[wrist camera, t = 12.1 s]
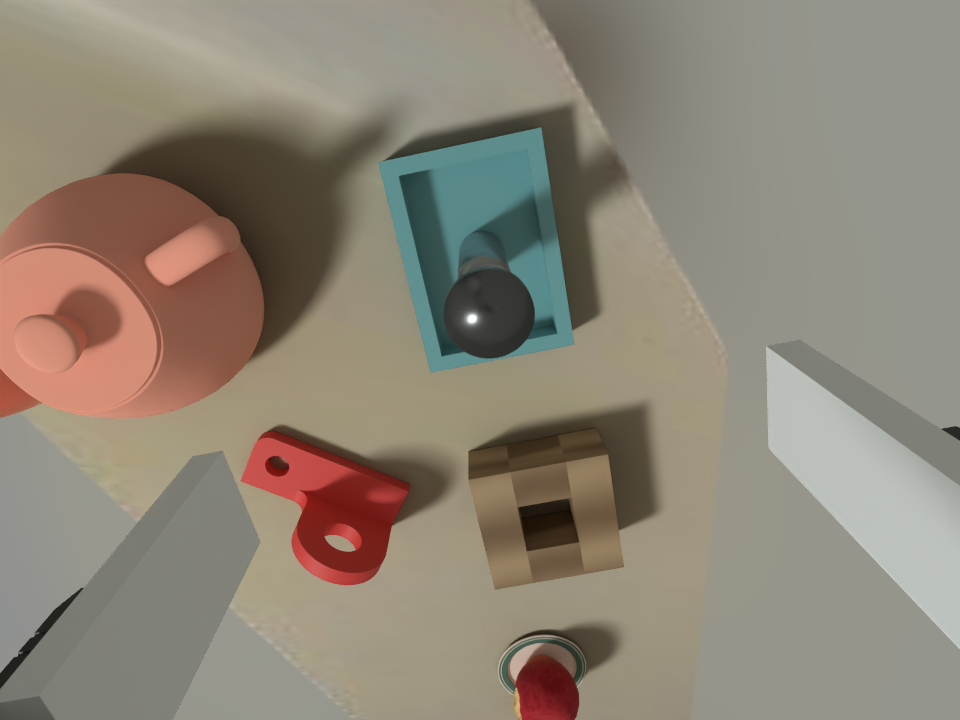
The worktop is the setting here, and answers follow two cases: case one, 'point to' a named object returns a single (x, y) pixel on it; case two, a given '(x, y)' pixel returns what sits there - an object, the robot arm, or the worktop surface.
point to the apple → (543, 677)
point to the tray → (478, 207)
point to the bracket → (330, 506)
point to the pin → (487, 301)
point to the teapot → (123, 300)
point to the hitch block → (538, 479)
